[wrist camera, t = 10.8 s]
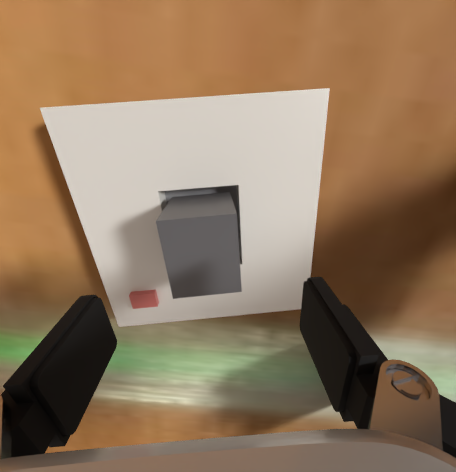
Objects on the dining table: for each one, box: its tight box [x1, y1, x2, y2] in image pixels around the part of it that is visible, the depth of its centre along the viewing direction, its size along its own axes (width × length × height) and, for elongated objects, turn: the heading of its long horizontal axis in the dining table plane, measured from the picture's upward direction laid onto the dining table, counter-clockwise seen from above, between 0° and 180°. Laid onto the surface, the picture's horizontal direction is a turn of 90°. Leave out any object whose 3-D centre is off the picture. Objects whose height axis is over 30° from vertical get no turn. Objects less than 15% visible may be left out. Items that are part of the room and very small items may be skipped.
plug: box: [156, 192, 242, 299], centre depth 18 cm, size 5×6×7 cm
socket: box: [40, 88, 330, 327], centre depth 21 cm, size 20×20×4 cm
